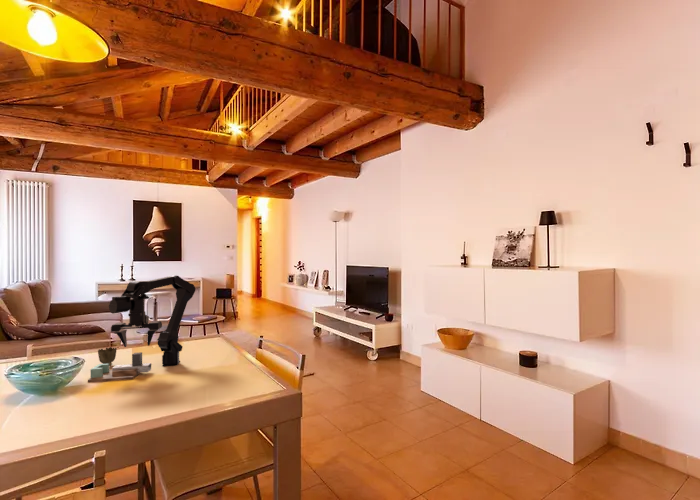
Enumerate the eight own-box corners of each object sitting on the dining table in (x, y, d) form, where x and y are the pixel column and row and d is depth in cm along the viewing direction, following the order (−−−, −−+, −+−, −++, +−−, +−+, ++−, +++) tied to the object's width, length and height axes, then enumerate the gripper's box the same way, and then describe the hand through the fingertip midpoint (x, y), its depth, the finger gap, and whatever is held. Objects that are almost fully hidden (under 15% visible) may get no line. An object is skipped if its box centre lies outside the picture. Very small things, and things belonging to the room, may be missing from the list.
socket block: (109, 371, 163) (109, 363, 163) (101, 377, 155) (101, 368, 155) (99, 372, 162) (99, 364, 162) (90, 377, 155) (90, 369, 155)
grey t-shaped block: (151, 369, 164) (151, 351, 165) (148, 372, 161) (148, 353, 161) (116, 371, 162) (116, 353, 162) (112, 374, 158) (112, 355, 158)
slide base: (143, 369, 168) (143, 363, 168) (132, 379, 155) (132, 372, 155) (102, 372, 165) (102, 365, 165) (87, 382, 152) (87, 375, 152)
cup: (101, 369, 169) (101, 351, 169) (95, 366, 174) (95, 349, 174) (119, 365, 175) (119, 348, 175) (112, 362, 180) (112, 346, 180)
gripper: (165, 306, 172) (165, 340, 171) (121, 308, 168) (121, 343, 168) (157, 310, 161) (158, 346, 161) (110, 312, 157) (110, 349, 157)
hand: (137, 346), depth 162 cm, fingers open, 9 cm apart
